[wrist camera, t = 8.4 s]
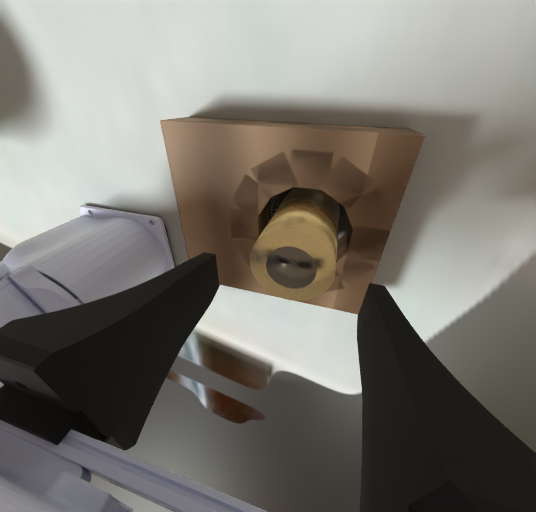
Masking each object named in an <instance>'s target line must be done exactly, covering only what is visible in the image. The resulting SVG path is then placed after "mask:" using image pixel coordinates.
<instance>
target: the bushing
mask: <svg viewBox="0 0 536 512" xmlns="http://www.w3.org/2000/svg"><path fill="white" fill-rule="evenodd" d="M339 215H340V210H339V205H338V202H337V201H336V200H335V199H333V198H332V197H331V196H329V195H328V194H327V193H325V192H324V191H322V190H317V189H308V188H299V187H296V188H294V189H293V190H291V191H290V192H289V193H288V194H287V195H286V196H285V198H284V199H283V201H282V202H281V204H280V205H279V207H278V209H277V210H276V212H275V213H274V215H273V216H272V218H271V220H270V221H269V223H268V224H267V226H266V227H265V229H264V230H263V232H262V234H261V235H260V237H259V238H258V240H257V241H256V243H255V245H254V246H253V248H252V251H251V254H250V266H251V270H252V272H253V275H254V276H255V278H256V280H257V281H258V282H259V283H260V284H261V285H262V286H263V287H264V288H265V289H266V290H268V291H269V292H270V293H272V294H274V295H276V296H278V297H281V298H284V299H288V300H295V301H302V300H309V299H313V298H316V297H318V296H320V295H322V294H323V293H324V292H326V291H327V290H328V289H329V288H330V286H331V285H332V283H333V281H334V278H335V272H336V258H337V244H338V230H339Z"/></svg>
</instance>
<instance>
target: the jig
mask: <svg viewBox="0 0 536 512" xmlns="http://www.w3.org/2000/svg"><path fill="white" fill-rule="evenodd" d="M160 123H161V128H162V132H163V137H164V142H165V147H166V152H167V157H168V162H169V166H170V171H171V176H172V181H173V186H174V191H175V195H176V200H177V205H178V210H179V215H180V220H181V224H182V229H183V234H184V239H185V244H186V249H187V254H188V258H189V260H190V259H192V258H194V257H196V256H198V255H200V254H202V253H204V252H206V253H211V254H216V261H217V269H218V277H219V284H220V285H225V286H229V287H234V288H238V289H243V290H248V291H252V292H257V293H262V294H266V295H271V296H275V297H278V296H276V295H274V294H272V293H270V292H269V291H268V290H266V289H265V288H264V287H263V286H262V285H261V284H260V283H259V282H258V281H257V280H256V278H255V276H254V275H253V272H252V270H251V266H250V254H251V251H252V248H253V246H254V245H255V243H256V241H257V240H258V238H259V237H260V235H261V234H262V232H263V230H264V229H265V227H266V226H267V224H268V223H269V221H270V200H271V198H272V197H273V196H275V195H277V194H279V193H281V192H284V191H286V190H288V189H290V188H293V187H299V188H308V189H317V190H322V191H324V192H325V193H327V194H328V195H329V196H331V197H332V198H333V199H335V200H336V201H337V202H339V203H340V204H341V205H343V206H344V207H345V210H346V213H347V215H348V218H349V221H350V222H349V226H348V230H347V232H346V233H345V234H344V235H343V236H342V237H341V238H340V239H339V240H338V244H337V258H336V272H335V278H334V281H333V283H332V285H331V286H330V288H329V289H328V290H327V291H326V292H324V293H323V294H322V295H320V296H318V297H316V298H313V299H309V300H302V301H299V302H303V303H308V304H313V305H317V306H322V307H326V308H331V309H336V310H340V311H345V312H350V313H354V314H359V311H360V308H361V305H362V302H363V300H364V297H365V294H366V291H367V288H368V286H369V283H372V280H373V277H374V274H375V272H376V269H377V266H378V263H379V261H380V258H381V255H382V252H383V250H384V247H385V244H386V241H387V239H388V236H389V233H390V230H391V228H392V225H393V222H394V219H395V217H396V214H397V211H398V208H399V206H400V203H401V200H402V197H403V195H404V192H405V189H406V186H407V184H408V181H409V178H410V175H411V173H412V170H413V167H414V164H415V161H416V159H417V156H418V153H419V150H420V148H421V145H422V142H423V139H424V137H425V136H424V135H422V134H420V133H418V132H416V131H414V130H412V129H402V128H383V127H364V126H345V125H326V124H308V123H289V122H270V121H251V120H232V119H213V118H194V117H185V118H177V119H168V120H160ZM280 298H281V297H280ZM294 301H295V300H294Z"/></svg>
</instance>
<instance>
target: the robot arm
mask: <svg viewBox="0 0 536 512" xmlns="http://www.w3.org/2000/svg"><path fill="white" fill-rule="evenodd" d="M78 209H79V212H80V214H81V216H80V217H78V218H76V219H73V220H71V221H69V222H67V223H64V224H62V225H60V226H57V227H55V228H53V229H51V230H48V231H46V232H44V233H42V234H39V235H37V236H35V237H33V238H30V239H28V240H26V241H23V242H22V243H20V244H18V245H16V246H15V247H14V248H13V249H11V250H10V251H9V252H8V254H7V255H6V256H5V258H4V259H3V261H2V262H0V512H133V509H132V508H130V507H128V506H127V505H125V504H123V503H122V502H120V501H118V500H117V499H116V498H114V497H113V496H112V495H111V494H109V493H108V492H106V491H104V490H102V489H100V488H98V487H96V486H94V485H92V484H91V483H90V481H91V474H93V475H95V476H98V477H100V478H102V479H104V480H106V481H109V482H110V483H113V484H115V485H117V486H119V487H121V488H123V489H126V490H128V491H130V492H132V493H135V494H137V495H139V496H141V497H143V498H145V499H147V500H150V501H152V502H154V503H156V504H158V505H160V506H162V507H165V508H167V509H169V510H171V511H173V512H267V511H265V510H262V509H260V508H257V507H255V506H253V505H250V504H248V503H245V502H243V501H240V500H238V499H236V498H234V497H231V496H229V495H226V494H224V493H222V492H219V491H217V490H215V489H212V488H209V487H207V486H205V485H203V484H200V483H198V482H196V481H193V480H191V479H188V478H186V477H184V476H181V475H179V474H177V473H174V472H172V471H169V470H167V469H165V468H162V467H160V466H158V465H155V464H152V463H150V462H148V461H145V460H143V459H141V458H138V457H136V456H134V455H131V454H129V453H127V452H124V451H122V450H128V449H129V448H131V447H133V446H134V445H135V444H136V442H137V440H138V437H139V435H140V433H141V430H142V428H143V426H144V423H145V421H146V419H147V416H148V414H149V412H150V410H151V407H152V405H153V403H154V401H155V399H156V397H157V395H158V392H159V390H160V388H161V386H162V384H163V382H164V380H165V378H166V376H167V374H168V372H169V370H170V368H171V366H172V364H173V363H174V361H175V358H176V357H177V355H178V353H179V351H180V350H181V348H182V346H183V344H184V343H185V341H186V340H187V338H188V337H189V335H190V334H191V332H192V331H193V329H194V328H195V326H196V325H197V323H198V322H199V320H200V319H201V317H202V316H203V314H204V313H205V311H206V310H207V308H208V307H209V305H210V304H211V302H212V300H213V298H214V296H215V294H216V292H217V290H218V288H219V286H220V285H219V277H218V269H217V261H216V254H211V253H206V252H204V253H202V254H200V255H198V256H196V257H194V258H192V259H190V260H188V261H186V262H184V263H182V264H180V265H178V266H176V267H175V266H174V262H173V258H172V254H171V250H170V246H169V242H168V238H167V234H166V230H165V226H164V222H163V220H162V219H161V218H160V217H156V216H149V215H143V214H137V213H130V212H124V211H118V210H112V209H105V208H99V207H93V206H86V205H81V206H79V208H78ZM357 343H358V353H359V364H360V374H361V384H362V398H363V412H362V415H363V416H362V425H363V427H362V469H361V470H362V471H361V497H360V512H536V453H535V452H534V451H532V450H531V449H530V448H529V447H528V446H527V445H526V444H525V443H523V442H522V441H521V440H520V439H519V438H518V437H517V436H515V435H514V434H513V433H512V432H511V431H510V430H509V429H508V428H506V427H505V426H504V425H503V424H502V423H501V422H500V421H499V420H498V419H497V418H495V417H494V416H493V415H492V414H491V413H490V412H489V411H488V410H487V409H486V408H485V407H484V406H483V405H481V403H480V402H478V400H477V399H475V398H474V397H473V396H472V395H471V394H470V393H469V392H468V391H467V390H466V389H465V388H464V387H463V386H462V385H461V384H460V383H459V381H457V380H456V379H455V377H454V376H453V375H452V374H451V373H450V372H449V371H448V370H447V369H446V367H444V365H443V364H442V363H441V362H440V361H439V360H438V359H437V357H436V356H435V355H434V354H433V353H432V352H431V350H430V349H429V348H428V347H427V346H426V344H425V343H424V342H423V340H422V339H421V338H420V337H419V335H418V334H417V333H416V331H415V330H414V329H413V327H412V326H411V324H410V323H409V322H408V320H407V319H406V317H405V316H404V315H403V313H402V312H401V310H400V309H399V307H398V306H397V304H396V303H395V301H394V299H393V298H392V296H391V295H390V293H389V292H388V290H387V289H386V287H385V286H382V285H377V284H371V283H369V286H368V288H367V291H366V294H365V297H364V300H363V302H362V305H361V308H360V311H359V314H358V321H357ZM98 440H100V441H98ZM101 441H102V442H101ZM103 442H105V443H108V444H110V445H113V446H115V447H117V448H120V449H122V450H120V449H117V448H115V447H112V446H110V445H108V444H105V443H103ZM90 473H91V474H90Z"/></svg>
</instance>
